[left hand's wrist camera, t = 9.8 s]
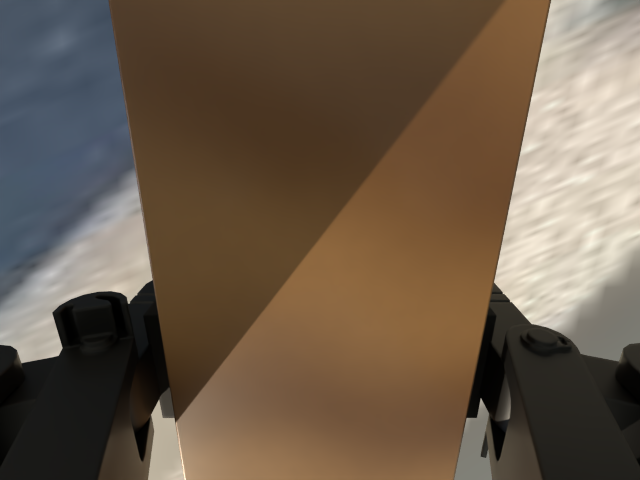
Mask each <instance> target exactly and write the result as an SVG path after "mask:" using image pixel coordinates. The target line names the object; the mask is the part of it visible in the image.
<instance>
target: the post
mask: <svg viewBox="0 0 640 480" xmlns="http://www.w3.org/2000/svg"><path fill="white" fill-rule="evenodd" d="M550 3H551V0H109V6H110V12H111V19H112V25H113V31H114V38H115V44H116V50H117V57H118V63H119V69H120V76H121V82H122V88H123V94H124V101H125V107H126V113H127V120H128V126H129V132H130V139H131V145H132V151H133V158H134V164H135V170H136V177H137V183H138V189H139V196H140V202H141V208H142V215H143V221H144V227H145V234H146V240H147V246H148V253H149V259H150V265H151V272H152V278H153V284H154V291H155V297H156V303H157V310H158V316H159V322H160V328H161V335H162V341H163V347H164V354H165V360H166V366H167V373H168V379H169V385H170V392H171V398H172V404H173V411H174V417H175V423H176V430H177V436H178V442H179V449H180V455H181V461H182V468H183V474H184V480H454V477H455V472H456V467H457V462H458V457H459V452H460V447H461V442H462V437H463V432H464V428H465V423H466V418H467V413H468V408H469V403H470V398H471V393H472V388H473V383H474V378H475V373H476V368H477V363H478V358H479V353H480V349H481V344H482V339H483V334H484V329H485V324H486V319H487V314H488V309H489V304H490V299H491V294H492V289H493V284H494V279H495V274H496V270H497V265H498V260H499V255H500V250H501V245H502V240H503V235H504V230H505V225H506V220H507V215H508V210H509V205H510V200H511V195H512V191H513V186H514V181H515V176H516V171H517V166H518V161H519V156H520V151H521V146H522V141H523V136H524V131H525V126H526V121H527V116H528V112H529V107H530V102H531V97H532V92H533V87H534V82H535V77H536V72H537V67H538V62H539V57H540V52H541V47H542V42H543V37H544V33H545V28H546V23H547V18H548V13H549V8H550Z"/></svg>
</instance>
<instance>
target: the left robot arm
mask: <svg viewBox="0 0 640 480" xmlns="http://www.w3.org/2000/svg"><path fill="white" fill-rule="evenodd" d="M53 317H54V320H55V323H56V327H57V330H58V334H59V337H60V340H61V344H62V347H63V349H62V351H61V353H60V354H59V356H56V357H52V358H47V359H42V360H36V361H31V362H26V363H21V361H20V358H19V355H18V352H17V350H16V349H14V348H13V347H11V346H5V345H0V480H148V475H149V467H150V459H151V451H152V443H153V436H154V428H153V422H152V417H151V414H152V412H153V410H154V408H155V406H156V404H157V402H158V400H160V405H161V410H162V416H163V418H175V417H174V411H173V404H172V398H171V392H170V385H169V379H168V373H167V366H166V360H165V354H164V347H163V341H162V335H161V328H160V322H159V316H158V310H157V303H156V297H155V291H154V284H153V280H152V281H150V282H149V283H147V284H146V285H145V286H144V287H143V288H142V289H141V290H140V291H139V292H138V294H137V296H135V297H134V298H133V299H132V300H131V301H130V304H128V302H127V297H126V296H124V295H123V294H121V293H117V292H112V291H108V292H95V293H90V294H85V295H82V296H79V297H77V298H74V299H71V300H69V301H67V302H65V303H64V304H62V305H60V306H59V307H58V308H57V309H56V310H55V311H54V312H53ZM480 399H482V401H483V403H484V404H485V406H486V408H487V410H488V412H489V417H488V422H487V426H486V431H485V436H484V441H483V446H482V451H481V457H485V458H486V455H487V451H488V450H489V458H490V466H491V473H492V480H640V343H636V344H629V345H628V346H626V347H625V348H623V351H622V354H621V357H620V360H619V362H618V361H613V360H608V359H603V358H597V357H592V356H587V355H583V354H580V352H579V350H578V348H577V347H576V346H575V344H574V343H573V342H572V341H571V340H570V339H568V338H567V337H565V336H564V335H562V334H561V333H559V332H557V331H554V330H552V329H549V328H547V327H542V326H538V325H534V324H531V323H530V322H529V321H528V320H527V319H526V318H525V316H524V315H523V314H522V313H521V312H520V311H519V310H518V309H517V308H516V306H515V305H514V304H513V303H512V302H510V300H509V299H508V298H507V297H506V295H505V294H503V292H502V291H501V290H500V289H499V288H498V287H497V286H496V284H495V283H494V284H493V289H492V294H491V299H490V304H489V309H488V314H487V319H486V324H485V329H484V334H483V339H482V344H481V349H480V353H479V358H478V363H477V368H476V373H475V378H474V383H473V388H472V393H471V398H470V403H469V408H468V413H467V418H477V414H478V409H479V404H480Z"/></svg>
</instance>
